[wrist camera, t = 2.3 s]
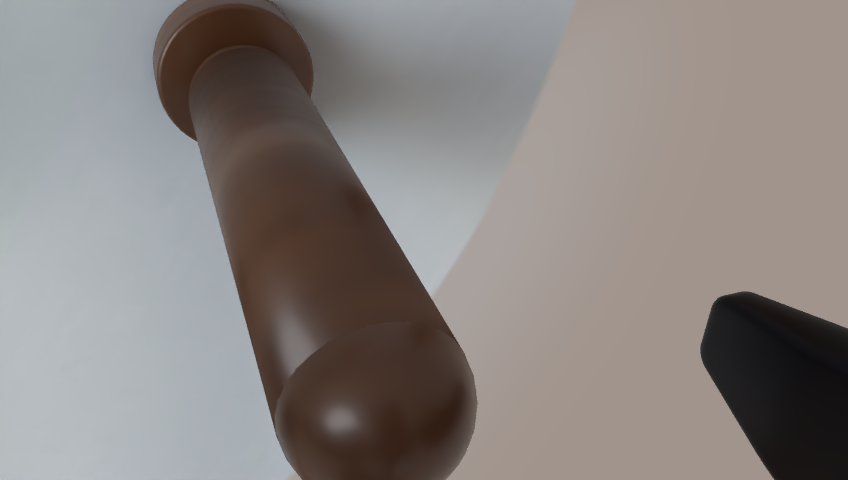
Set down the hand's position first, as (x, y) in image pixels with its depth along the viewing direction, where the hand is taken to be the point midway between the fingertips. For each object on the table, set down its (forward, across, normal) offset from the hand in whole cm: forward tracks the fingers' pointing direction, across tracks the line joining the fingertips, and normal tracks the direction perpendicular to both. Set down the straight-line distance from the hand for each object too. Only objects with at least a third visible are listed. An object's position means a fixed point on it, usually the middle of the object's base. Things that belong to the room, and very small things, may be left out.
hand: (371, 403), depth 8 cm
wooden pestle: (+11, 0, 0) cm, 11 cm away
